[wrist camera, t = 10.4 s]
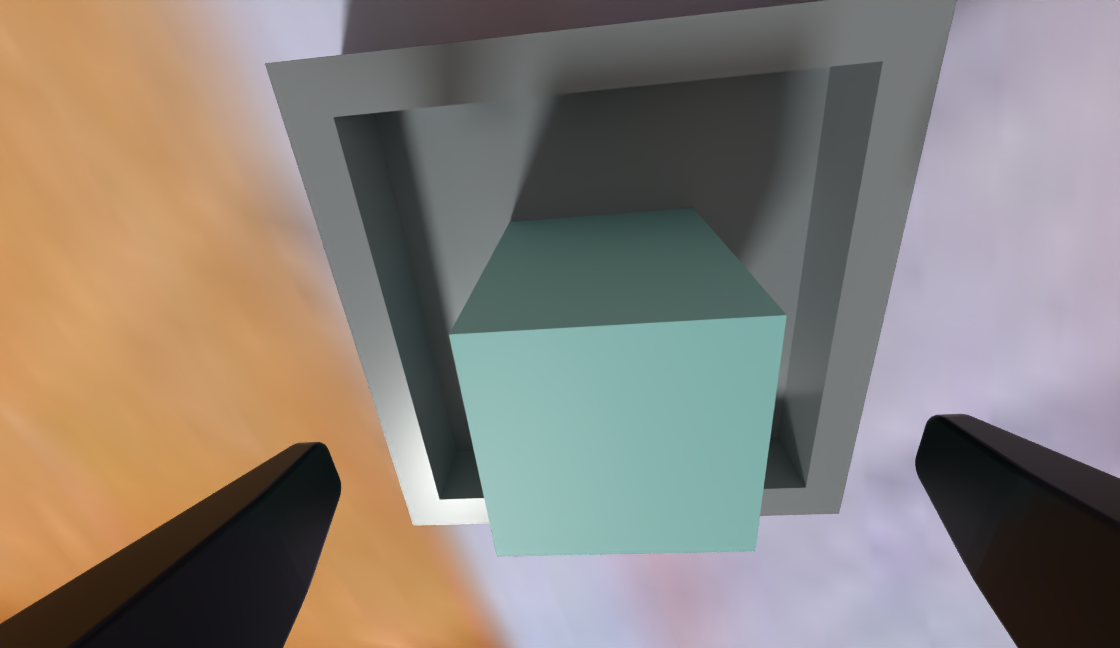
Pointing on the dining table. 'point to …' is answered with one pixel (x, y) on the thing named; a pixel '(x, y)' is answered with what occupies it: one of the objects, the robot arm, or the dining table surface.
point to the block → (619, 386)
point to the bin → (623, 196)
